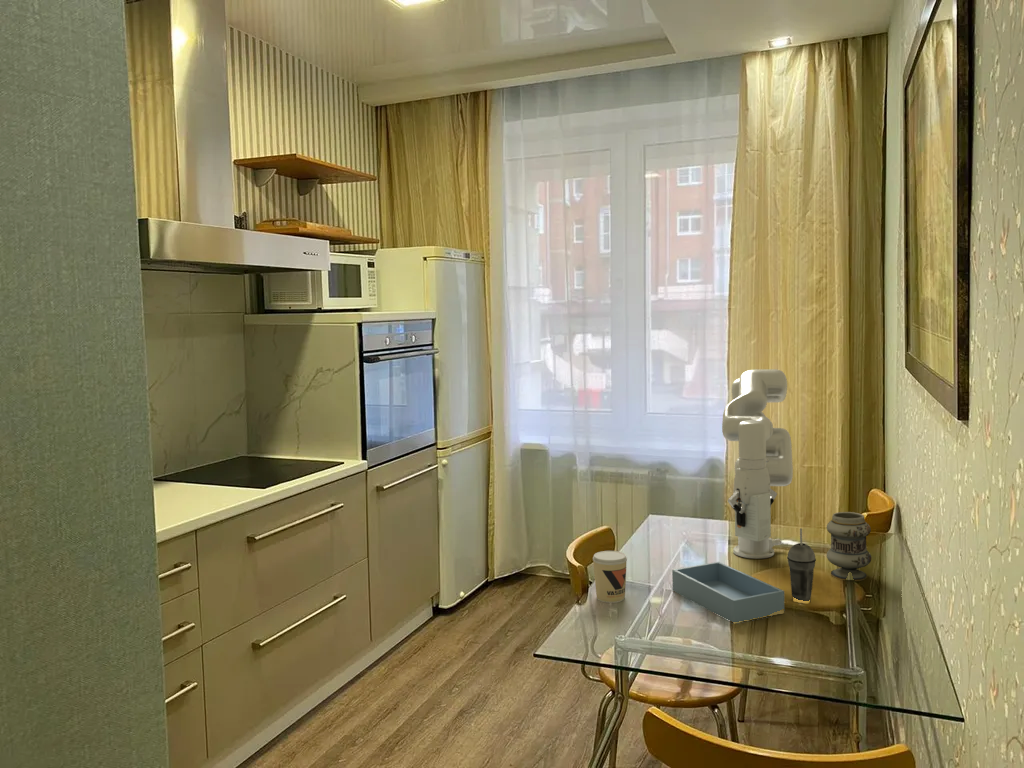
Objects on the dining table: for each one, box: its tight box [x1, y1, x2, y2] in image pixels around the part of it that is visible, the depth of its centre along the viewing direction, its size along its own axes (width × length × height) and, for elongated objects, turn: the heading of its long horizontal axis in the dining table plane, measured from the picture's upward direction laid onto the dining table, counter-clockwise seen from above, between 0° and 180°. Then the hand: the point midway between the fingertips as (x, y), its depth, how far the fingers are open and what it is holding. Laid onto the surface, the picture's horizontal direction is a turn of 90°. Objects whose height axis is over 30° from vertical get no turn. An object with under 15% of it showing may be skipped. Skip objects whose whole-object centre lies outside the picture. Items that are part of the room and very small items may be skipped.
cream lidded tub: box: [592, 550, 628, 604], centre depth 223 cm, size 9×9×12 cm
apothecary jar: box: [826, 511, 872, 582], centre depth 235 cm, size 12×12×18 cm
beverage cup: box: [786, 528, 817, 601], centre depth 216 cm, size 7×7×20 cm
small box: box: [734, 493, 772, 542], centre depth 234 cm, size 8×6×13 cm
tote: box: [671, 561, 785, 622], centre depth 218 cm, size 16×28×6 cm, turn 22°
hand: (752, 523), depth 234 cm, fingers closed on small box, 7 cm apart
